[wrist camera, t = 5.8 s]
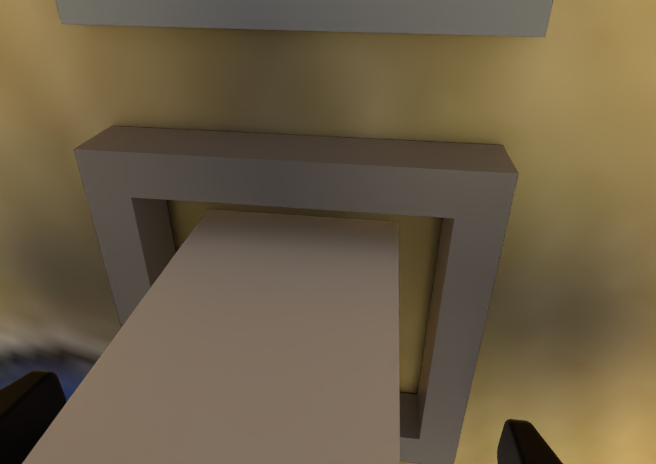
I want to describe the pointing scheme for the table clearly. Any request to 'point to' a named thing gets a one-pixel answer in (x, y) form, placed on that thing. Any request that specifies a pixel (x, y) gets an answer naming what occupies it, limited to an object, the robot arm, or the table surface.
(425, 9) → the slate pad
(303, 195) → the collar
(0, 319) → the table surface
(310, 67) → the table surface
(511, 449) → the robot arm
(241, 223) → the beige block
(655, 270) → the table surface
